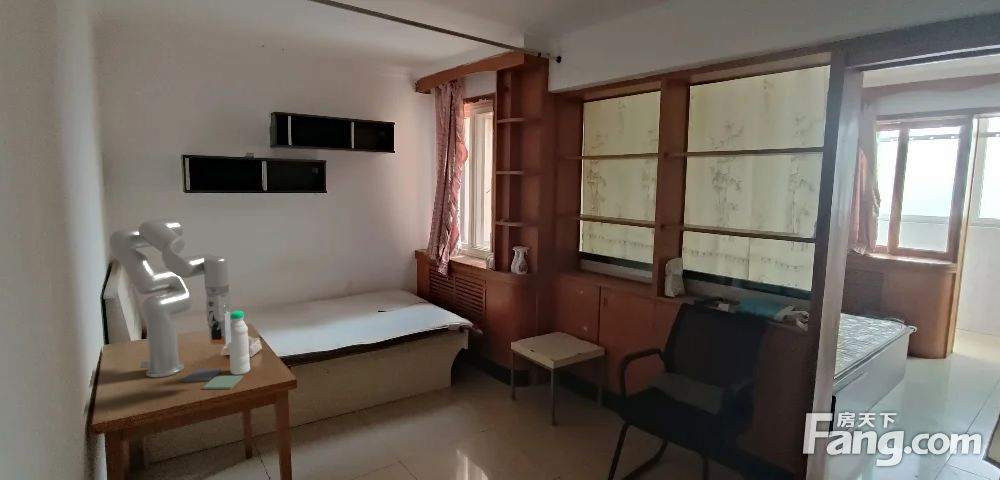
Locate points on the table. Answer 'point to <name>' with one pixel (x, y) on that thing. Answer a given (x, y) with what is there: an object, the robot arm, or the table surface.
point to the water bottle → (239, 344)
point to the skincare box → (222, 332)
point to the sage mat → (223, 382)
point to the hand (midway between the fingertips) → (220, 336)
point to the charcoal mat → (202, 375)
